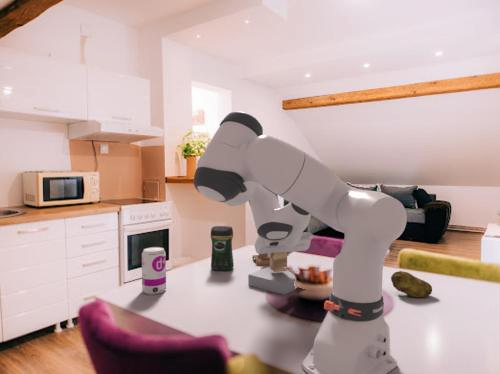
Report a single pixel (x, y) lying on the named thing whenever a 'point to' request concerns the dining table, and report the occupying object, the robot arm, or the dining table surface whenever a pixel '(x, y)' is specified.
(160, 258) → the supplement can
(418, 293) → the potato
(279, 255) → the oak block
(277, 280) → the grey stand
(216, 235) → the coffee jar
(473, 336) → the dining table surface
